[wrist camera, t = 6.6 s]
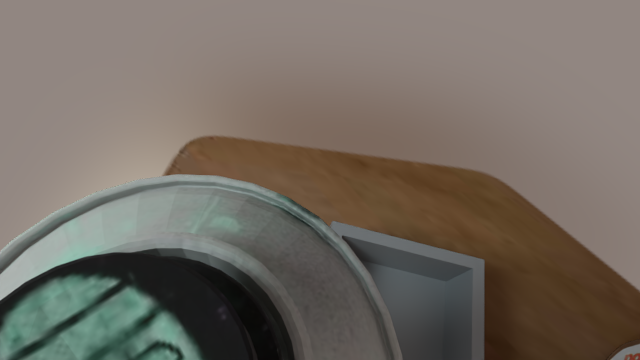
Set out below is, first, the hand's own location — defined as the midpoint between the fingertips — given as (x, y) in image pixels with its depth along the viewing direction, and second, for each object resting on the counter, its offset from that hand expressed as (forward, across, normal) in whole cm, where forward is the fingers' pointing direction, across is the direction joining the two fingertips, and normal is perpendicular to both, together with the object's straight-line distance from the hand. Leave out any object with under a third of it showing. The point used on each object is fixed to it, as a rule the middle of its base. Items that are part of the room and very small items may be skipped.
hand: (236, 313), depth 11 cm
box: (+15, -9, +10) cm, 20 cm away
